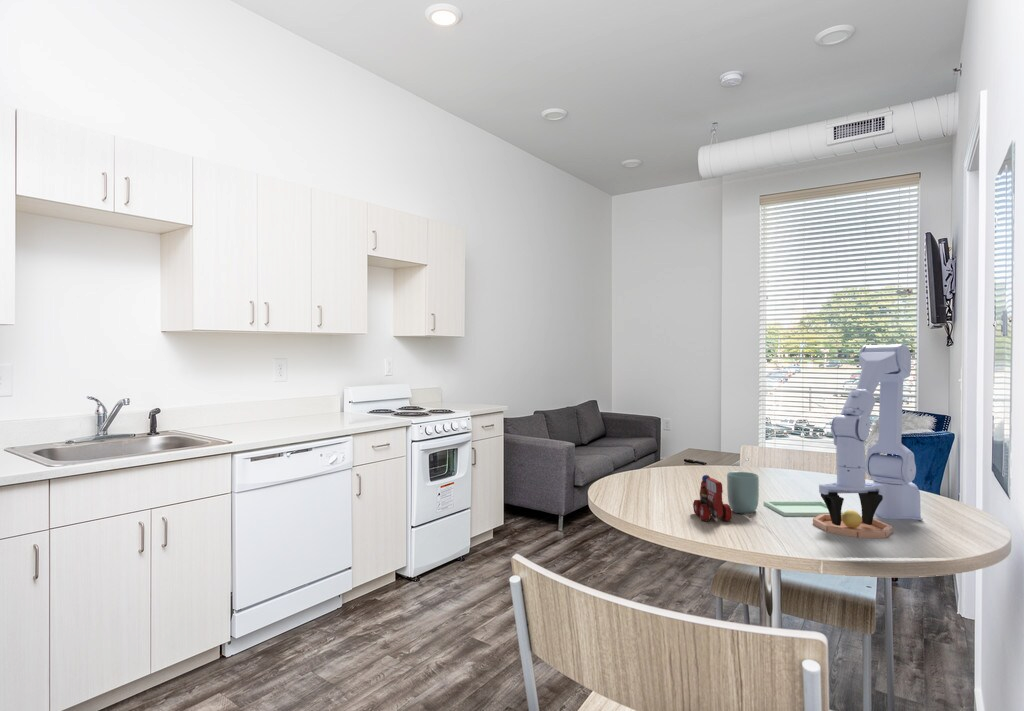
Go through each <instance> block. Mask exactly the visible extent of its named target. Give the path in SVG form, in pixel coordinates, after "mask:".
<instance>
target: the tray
mask: <svg viewBox="0 0 1024 711" xmlns="http://www.w3.org/2000/svg"><path fill="white" fill-rule="evenodd" d="M763 507H767V508H769V509H771V510H772V511H775V513H778V514H780V515H781V516H783V517H817V516H818V515H820V514H829V511H828V508H827V506H826V504H825V502H824V500H808V501H807V500H763ZM845 511H846V510H844V509H841V514H843V513H844V512H845Z"/></svg>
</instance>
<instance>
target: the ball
mask: <svg viewBox="0 0 1024 711" xmlns="http://www.w3.org/2000/svg"><path fill="white" fill-rule="evenodd" d="M844 511H845V512H844V513H843V514H842V521H843V523H844V524H845V525H846V526H848V527H850V528H856V527H858V526H860V524H861V522H862V519H861V517H862V515H861V514H859V513H858V512H857V511H855V510H853V509H849V510H844Z"/></svg>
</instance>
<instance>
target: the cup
mask: <svg viewBox="0 0 1024 711" xmlns="http://www.w3.org/2000/svg"><path fill="white" fill-rule="evenodd" d="M759 477H760V476H759V474H757V473H754V472H747V471H729V472H727V474H726V496H727V502H728V505H729V506H730V508H731V511H733V512H734V513H736V514H740V515H745V514H751V513H752V514H753V513H755V512H756V511H757V509H758V505H759V499H760V498H759V497H760V492H759V491H760V480H759V479H760V478H759Z"/></svg>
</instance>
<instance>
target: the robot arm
mask: <svg viewBox="0 0 1024 711" xmlns="http://www.w3.org/2000/svg"><path fill="white" fill-rule="evenodd" d="M858 358H859V359H858V361H859V365H860V368H861V372H860V375H859V379H858V382H857V386H856V388H855V389H854V390H851V391H850V392H849V393H848V396H847V397H846V400H845V402H844V405H843V407H842V409H841V412H840V414H838V415H836V416H833V418H832V420H831V425H830V433H831V435H832V437H833V445H834V446H836V450H835V451H836V482H834V483H833V482H831V483H823V484H819V485H818V493H819V494H820V497H821V499H822V501H823V502H825V504H826V506H827V508H828V511H829V514H830V517H831V521H832V524H835V525H837V526H840V525H841V510H843V509H842V507H843V504H844V500H845V498H844V497H841V496H840V494H857V495H858V497H859V501H860V507H861V517H862V521H863V523H865V524H868V525H871V524H872V521H873V519H874V516H878V517H881V518H883V519H891V520H893V519H900V520H901V519H903V520H904V519H907V520H909V519H911V520H912V519H914V520H915V521H924V518H923V517H921V516H922V514H921V493H920V490H919V487H918V486H917V484H915V482H914V483H913V481H914V480H915V477H916V475H917V465H916V461H915V454H914V452H913V451H912V450H910V449H909V448H908V447H907V446H905V445H904V444H903V443H902V432H903V430H902V428H903V402H904V401H903V398H904V397H903V396H904V393H903V392H904V380H906V379H907V378H909V377H910V376H911V372H912V369H911V368H912V354H911V351H910V348H909V346H908V345H906V344H905V343H899V344H876V345H874V344H873V345H868V344H863V345H862V347H861V348H860V350H859V352H858ZM878 385H879V406H878V407H879V409H878V410H879V411H878V415H879V416H878V435H877V436H878V437H877V438H878V439H877V442H876V443H874V444H873V445H872V446H870V447H868V448H867V452H866V450H865V446H866V444H865V443H866V442H865V441H867V439H868V437H869V435H870V432H871V430H870V429H871V427H870V426H871V419H870V417H871V414H872V412H873V410H874V406H875V404H876V402H877V401H876V398H875V395H874V393H875V391H876V389H877V387H878ZM865 453H866V454H865ZM888 454H890V455H888ZM894 455H898V456H894ZM866 474H867V477H869V478H870V480H871V481H872V483H870V482H869V483H868V482H866Z"/></svg>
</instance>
